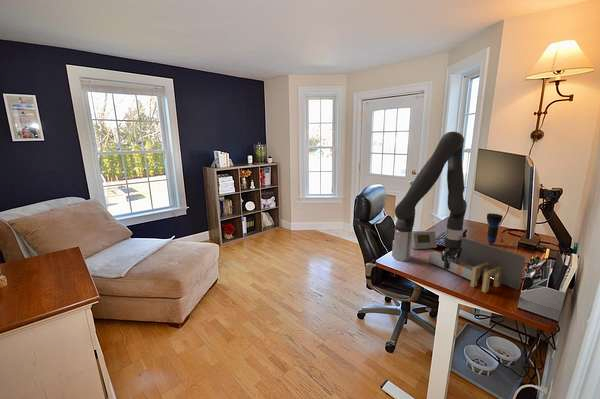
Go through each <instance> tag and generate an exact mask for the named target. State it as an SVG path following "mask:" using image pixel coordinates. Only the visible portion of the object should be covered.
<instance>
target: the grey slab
mask: <svg viewBox="0 0 600 399" xmlns="http://www.w3.org/2000/svg"><path fill="white" fill-rule="evenodd" d="M428 262H429V263H431V264H433V265H436V266H438V267H440V268H442V269H444V270H447V271H449V272H451V273H454V274H456V275H457V276H460V277H462V278H465V279H467V280H469V281H471V276H472V270H473V267H474V266H471V265H469V264H467V263H464V262H461V261H459V260H456V259H454V258H452V259H451V260H450V262H449V263H450V264H449V269H445V268H444V263H445V262H444V261H442V256H441V252H439V251H435V250H434V251H431V252H430V253H429V254H428ZM480 272H481V271H479V273H478V280H480V277H481V274H480Z"/></svg>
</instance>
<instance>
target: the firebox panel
mask: <svg viewBox="0 0 600 399" xmlns="http://www.w3.org/2000/svg"><path fill="white" fill-rule="evenodd" d="M461 247H462V251H461V254H460V258H458V259H457V260H459V261H461V262H464V263H467V264H469V265H471V266H474V267H475V266H478V265H480V264H483V263H485V262H490V263H491V266H490V270H491V269H493V268H495V267H498V266H501V267H503V269H502V275H501V281H500V284H503V285H505V286H508V287H509V288H512V289H515V290H517V291H518V290H520V288H521V283H522V278H523V271H524V268H525V267H524V266H525V263H526V256H525V255H522V254H518V253H515V252H512V251H508V250H505V249H501V248H499V247H496V246H493V245H490V244H486V243H484V242H480V241H477V240H474V239H470V238H468V237H463V236H462V243H461ZM480 276H483V270H481V272H480ZM491 277H492V278H495V275H492V276H491Z"/></svg>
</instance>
